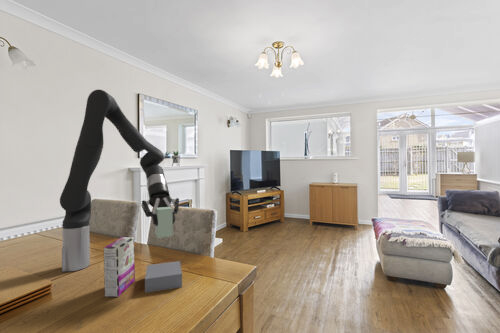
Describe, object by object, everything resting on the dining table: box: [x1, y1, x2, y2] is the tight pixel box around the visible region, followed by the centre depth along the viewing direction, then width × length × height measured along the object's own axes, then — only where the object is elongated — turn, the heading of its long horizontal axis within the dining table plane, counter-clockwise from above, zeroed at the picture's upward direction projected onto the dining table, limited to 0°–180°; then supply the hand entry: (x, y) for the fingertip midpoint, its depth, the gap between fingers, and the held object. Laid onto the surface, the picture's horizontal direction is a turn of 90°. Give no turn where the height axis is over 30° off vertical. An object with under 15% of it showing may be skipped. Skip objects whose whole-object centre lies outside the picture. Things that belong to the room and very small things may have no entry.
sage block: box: [154, 207, 174, 239], centre depth 89 cm, size 5×5×10 cm
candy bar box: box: [103, 236, 136, 298], centre depth 84 cm, size 11×5×16 cm, turn 179°
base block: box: [144, 260, 183, 294], centre depth 89 cm, size 12×12×5 cm
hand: (165, 223), depth 88 cm, fingers closed on sage block, 5 cm apart
